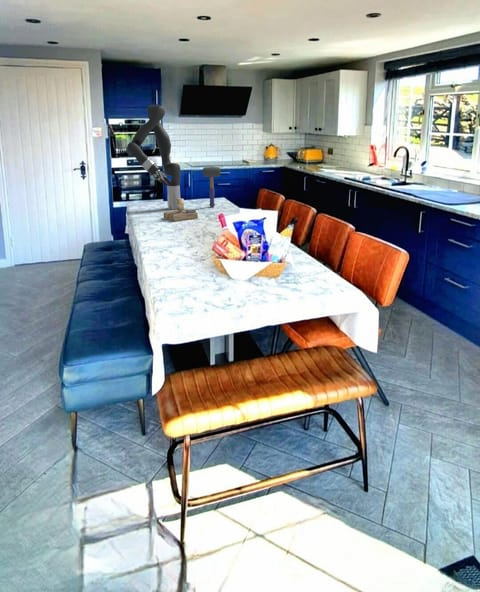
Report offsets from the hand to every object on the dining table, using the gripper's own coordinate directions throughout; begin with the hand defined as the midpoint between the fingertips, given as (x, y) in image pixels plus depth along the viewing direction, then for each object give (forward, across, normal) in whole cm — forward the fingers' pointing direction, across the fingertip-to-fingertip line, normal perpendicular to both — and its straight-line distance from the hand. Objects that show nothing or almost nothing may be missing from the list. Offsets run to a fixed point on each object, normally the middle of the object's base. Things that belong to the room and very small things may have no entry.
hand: (168, 183), depth 345 cm
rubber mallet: (+34, +38, +1) cm, 50 cm away
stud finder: (+24, -4, +2) cm, 24 cm away
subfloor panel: (+22, -5, +10) cm, 24 cm away
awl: (+21, -5, +9) cm, 23 cm away
